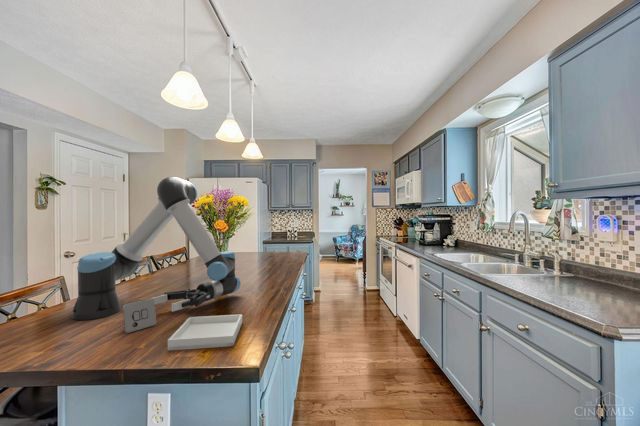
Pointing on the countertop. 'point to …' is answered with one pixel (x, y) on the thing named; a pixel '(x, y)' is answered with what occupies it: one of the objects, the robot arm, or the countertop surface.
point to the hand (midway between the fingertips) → (160, 304)
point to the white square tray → (206, 332)
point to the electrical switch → (139, 315)
